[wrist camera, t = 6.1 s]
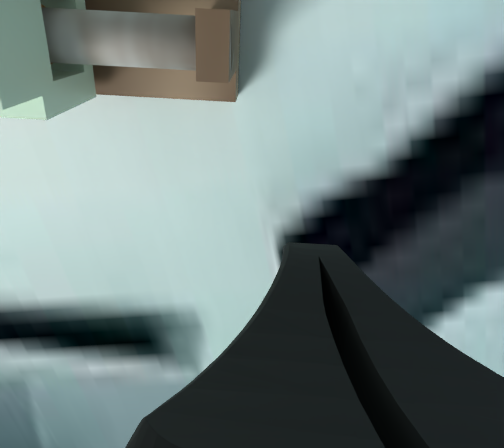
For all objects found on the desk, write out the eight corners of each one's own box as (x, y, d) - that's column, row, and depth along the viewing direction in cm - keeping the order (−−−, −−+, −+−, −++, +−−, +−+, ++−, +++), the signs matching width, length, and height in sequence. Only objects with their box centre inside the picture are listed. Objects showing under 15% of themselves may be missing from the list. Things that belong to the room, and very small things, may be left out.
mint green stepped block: (80, -38, 14) (-38, -72, 9) (96, 96, 16) (9, 137, 11) (9, -42, 14) (-152, -77, 9) (34, 93, 16) (-84, 132, 11)
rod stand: (241, -24, 16) (231, -40, 11) (237, 95, 18) (227, 122, 13) (6, -37, 16) (-98, -58, 11) (29, 83, 18) (-52, 106, 13)
